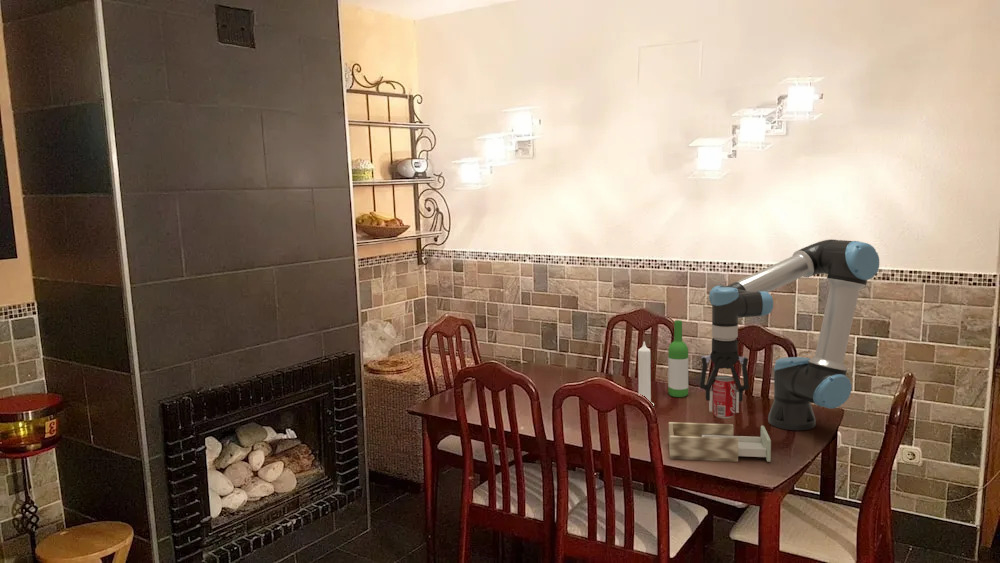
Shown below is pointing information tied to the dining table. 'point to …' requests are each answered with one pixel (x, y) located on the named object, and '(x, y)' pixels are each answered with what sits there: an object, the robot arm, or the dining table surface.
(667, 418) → the dining table surface
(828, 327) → the robot arm
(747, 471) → the dining table surface
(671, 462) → the dining table surface
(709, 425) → the light brown hollow box
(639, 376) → the candle
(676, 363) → the wine bottle
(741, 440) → the drawer
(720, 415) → the soda can
